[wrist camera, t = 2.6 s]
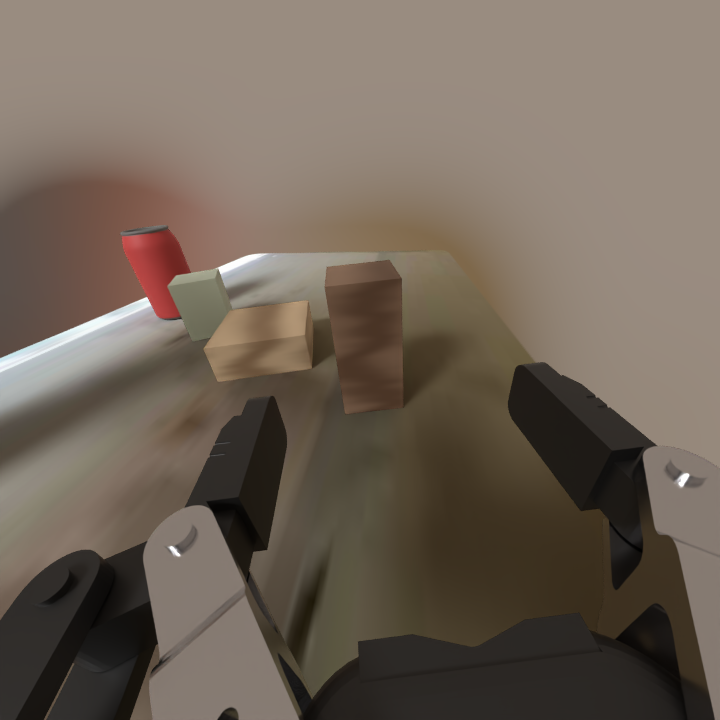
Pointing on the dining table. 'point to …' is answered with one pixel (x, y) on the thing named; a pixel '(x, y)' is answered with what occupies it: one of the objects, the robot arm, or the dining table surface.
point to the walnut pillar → (367, 334)
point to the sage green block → (200, 302)
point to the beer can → (156, 265)
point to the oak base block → (262, 341)
